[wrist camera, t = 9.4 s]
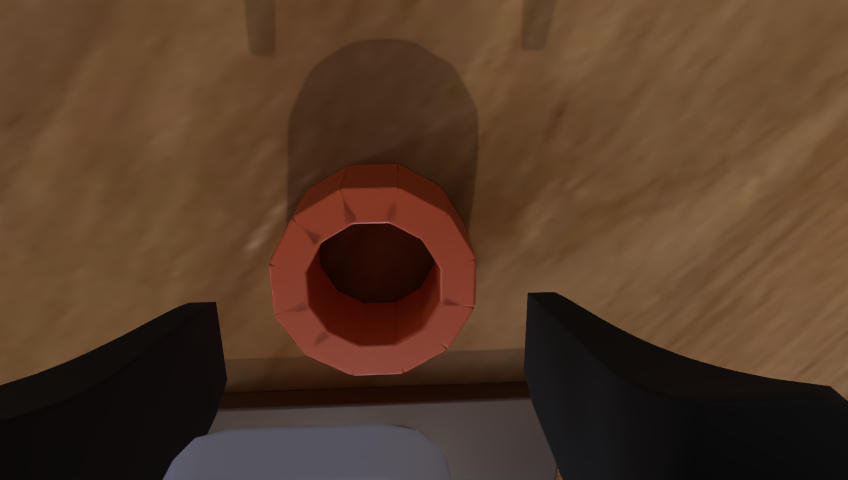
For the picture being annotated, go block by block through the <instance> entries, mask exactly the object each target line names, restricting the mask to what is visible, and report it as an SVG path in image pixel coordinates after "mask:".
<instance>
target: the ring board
mask: <svg viewBox="0 0 848 480" xmlns="http://www.w3.org/2000/svg"><path fill="white" fill-rule="evenodd" d="M379 423H383V424H389V425H394V426H399V427H405V428H410V429H416V430H418V431H420V432H421V433H422V434H423V435H425V436H426V437H427V438H428V439H430V440H431V441H432V442H434V443H435V444H436V445H437V446H439V447H440V448H441V449H442V450H443V452H444V455H445V458H446V461H447V464H448V467H449V470H450V473H451V476H452V480H556V473H557V464H556V461H555V459H554V457H553V454H552V452H551V449H550V447H549V444H548V442H547V440H546V437H545V435H544V432H543V430H542V427H541V425H540V422H539V420H538V417H537V415H536V412H535V410H534V407H533V404H532V401H531V397H530V393H529V389H528V385H527V382H517V383H490V384H463V385H436V386H410V387H383V388H356V389H329V390H303V391H276V392H249V393H223V396H222V399H221V402H220V405H219V408H218V412H217V415H216V417H215V419H214V421H213V424H212V426H211V428H210V430H209V432H208V434H212V433H216V432H220V431H223V430H227V429H241V428H268V427H296V426H324V425H351V424H379ZM208 434H207V435H208Z"/></svg>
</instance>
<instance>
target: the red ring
mask: <svg viewBox="0 0 848 480" xmlns="http://www.w3.org/2000/svg"><path fill="white" fill-rule="evenodd" d="M374 223H390V224H392V225H394V226H396V227H398V228H400V229H402V230H404V231H406V232H408V233H410V234H412V235H414V236H416V237H418V238H420V239H421V240H422V241H423V243H424V244H425V246H426V247H427V249H428V250H429V252H430V254H431V255H432V257H433V258H434V265H433V267H432V268H431V270H430V272H429V273H428V275H427V277H426V278H425V280H424V282H423V283H422V285H421V287H420V288H419V289H418V290H416V291H414V292H412V293H410V294H409V295H407V296H405V297H403V298H402V299H400V300H398V301H396V302H386V303H363V302H361V301H359V300H357V299H354V298H352V297H350V296H348V295H346V294H344V293H342V292H340V291H338V290H337V289H336V288H335V286H334V285H333V283H332V282H331V281H330V279H329V278H328V277H327V275H326V274H325V272H324V271H323V270H322V268H321V262H320V249H319V247H320V245H321V244H322V242H324V241H325V240H327V239H329V238H330V237H332V236H334V235H335V234H337V233H339V232H340V231H342V230H344V229H345V228H347V227H349V226H350V225H352V224H374ZM269 274H270V283H271V292H272V301H273V310H274V313H276V314H275V315H276V317H277V319H278V320H279V321H280V322H281V324H282V325H283V326H284V328H285V329H286V330H287V332H288V333H289V334H290V335H291V337H292V338H293V339H294V341H295V342H296V343H297V344H298V346H299V347H300V348H301V350H302V351H303V352H304V353H306V355H307V356H309V357H312V358H314V359H316V360H318V361H321V362H323V363H325V364H327V365H330V366H332V367H334V368H336V369H339V370H341V371H343V372H345V373H348V374H350V375H352V374H353V375H354V376H358V375H385V374H403V372H407V371H409V370H411V369H413V368H415V367H416V366H418V365H420V364H422V363H424V362H426V361H427V360H429V359H431V358H433V357H435V356H437V355H438V354H440V353H442V352H444V351H446V350H447V347H450V346H451V344H452V342H453V341H454V339H455V338H456V336H457V335H458V333H459V332H460V330H461V328H462V327H463V325H464V324H465V322H466V321H467V319H468V317H469V316H470V314H471V313H472V311H473V309H474V307H473V306H474V305H475V297H476V259H475V254H474V251H473V248H472V245H471V242H470V239H469V236H468V234H467V231H466V228H465V225H464V223H463V222H462V220H461V218H460V217H459V215H458V213H457V212H456V210H455V208H454V207H453V205H452V203H451V202H450V200H449V198H448V197H447V195H446V194H445V192H444V190H443V189H442V188H441V187H440V186H439V185H437V184H435V183H434V182H432V181H430V180H428V179H426V178H424V177H422V176H420V175H419V174H417V173H415V172H413V171H411V170H409V169H407V168H405V167H404V166H402V165H397V164H362V165H349V166H345V167H344V168H342V169H340V170H339V171H337V172H336V173H334V174H332V175H331V176H329V177H327V178H326V179H324V180H322V181H321V182H319V183H318V184H316V185H314V186H313V187H311V188H309V189H308V191H307V192H306V193H305V194H304V196H303V198H302V200H301V202H300V203H299V205H298V207H297V209H296V211H295V212H294V214H293V216H292V218H291V220H290V222H289V224H288V226H287V228H286V230H285V232H284V234H283V236H282V238H281V240H280V242H279V243H278V245H277V247H276V249H275V251H274V253H273V255H272V257H271V259H270V264H269Z"/></svg>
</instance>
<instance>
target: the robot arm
mask: <svg viewBox="0 0 848 480" xmlns="http://www.w3.org/2000/svg"><path fill="white" fill-rule="evenodd" d="M524 372H525V376H526V380H527V385H528V389H529V393H530V397H531V401H532V404H533V407H534V410H535V412H536V415H537V417H538V420H539V422H540V425H541V427H542V430H543V432H544V435H545V437H546V440H547V442H548V444H549V447H550V449H551V452H552V454H553V457H554V459H555V461H556V464H557V466H558V469H559V471H560V474H561V476H562V478H563V480H848V401H847V400H846V399H845V398H843V397H842V396H841V395H840V394H839V393H837V392H836V391H835V390H834V389H833V388H832V387H830V386H824V385H816V384H809V383H801V382H794V381H786V380H779V379H772V378H767V377H762V376H757V375H752V374H747V373H742V372H738V371H733V370H729V369H725V368H721V367H717V366H714V365H711V364H707V363H704V362H700V361H697V360H694V359H690V358H687V357H684V356H681V355H678V354H676V353H673V352H671V351H668V350H665V349H663V348H660V347H658V346H655V345H653V344H650V343H648V342H646V341H644V340H641V339H639V338H637V337H635V336H633V335H631V334H629V333H627V332H625V331H623V330H621V329H619V328H617V327H615V326H614V325H612V324H610V323H608V322H606V321H605V320H603V319H601V318H599V317H598V316H596V315H594V314H592V313H591V312H589V311H587V310H586V309H584V308H582V307H581V306H579V305H577V304H576V303H574V302H572V301H570V300H569V299H567V298H565V297H563V296H562V295H559V294H557V293H555V292H541V293H528V299H527V319H526V340H525V360H524ZM226 382H227V375H226V368H225V361H224V355H223V348H222V341H221V334H220V327H219V320H218V313H217V306H216V302H201V303H187V304H184V305H182V306H179V307H177V308H175V309H173V310H171V311H169V312H167V313H165V314H163V315H161V316H159V317H157V318H155V319H153V320H151V321H149V322H148V323H146V324H144V325H142V326H140V327H138V328H136V329H134V330H132V331H131V332H129V333H127V334H125V335H123V336H121V337H119V338H117V339H115V340H113V341H111V342H109V343H107V344H105V345H103V346H100V347H98V348H96V349H94V350H92V351H90V352H88V353H86V354H84V355H82V356H79V357H77V358H75V359H73V360H70V361H68V362H65V363H63V364H60V365H58V366H55V367H53V368H50V369H48V370H45V371H42V372H40V373H37V374H34V375H31V376H28V377H25V378H22V379H19V380H16V381H13V382H9V383H6V384H3V385H0V480H452V476H451V473H450V470H449V467H448V464H447V461H446V458H445V455H444V452H443V450H442V449H441V448H440V447H439V446H437V445H436V444H435V443H434V442H432V441H431V440H430V439H428V438H427V437H426V436H425V435H423V434H422V433H421V432H420V431H418V430H416V429H410V428H405V427H399V426H394V425H389V424H383V423H379V424H351V425H324V426H296V427H268V428H241V429H227V430H223V431H220V432H216V433H212V434H208V432H209V430H210V428H211V426H212V424H213V421H214V419H215V417H216V415H217V412H218V408H219V405H220V402H221V399H222V396H223V392H224V389H225V385H226ZM207 434H208V435H207Z"/></svg>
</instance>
